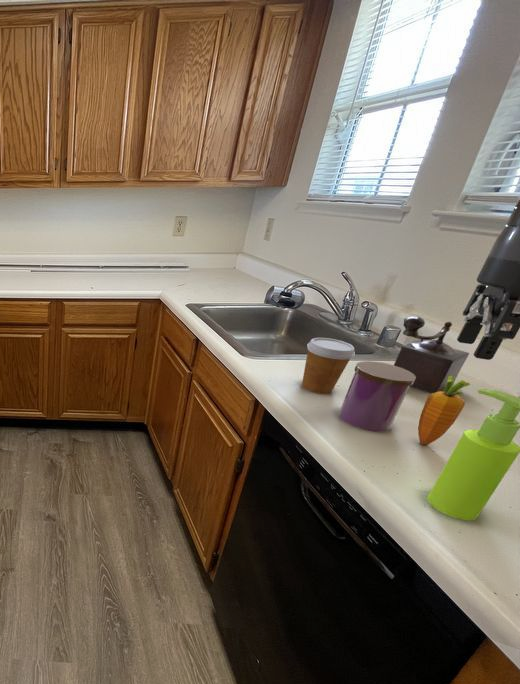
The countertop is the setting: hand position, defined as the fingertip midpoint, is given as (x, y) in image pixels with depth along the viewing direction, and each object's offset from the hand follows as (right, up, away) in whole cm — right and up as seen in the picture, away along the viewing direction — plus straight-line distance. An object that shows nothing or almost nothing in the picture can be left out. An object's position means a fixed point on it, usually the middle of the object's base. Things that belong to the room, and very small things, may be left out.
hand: (472, 350), depth 74 cm
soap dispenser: (-11, -26, -6) cm, 29 cm away
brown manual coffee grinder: (+21, -7, +33) cm, 40 cm away
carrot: (0, -19, +9) cm, 21 cm away
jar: (-5, -14, +17) cm, 23 cm away
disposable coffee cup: (-6, -8, +31) cm, 32 cm away
